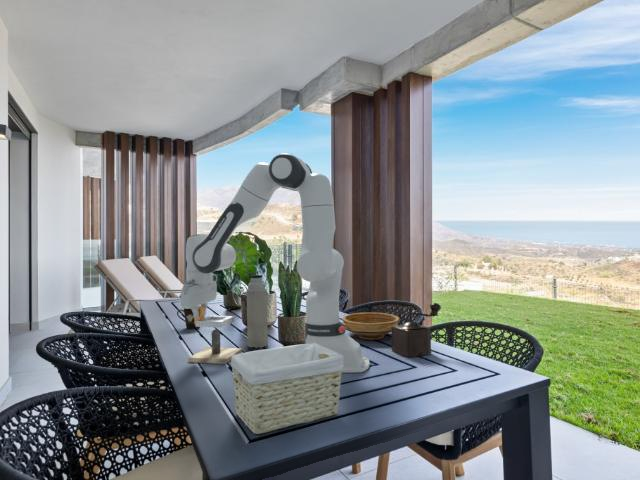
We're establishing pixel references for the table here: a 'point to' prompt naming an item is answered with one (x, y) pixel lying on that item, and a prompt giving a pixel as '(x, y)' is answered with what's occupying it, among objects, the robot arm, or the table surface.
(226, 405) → the table surface
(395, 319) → the ceramic bowl
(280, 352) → the storage basket
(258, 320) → the thermos bottle
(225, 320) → the white holder stand
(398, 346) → the manual coffee grinder
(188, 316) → the coffee mug
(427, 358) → the table surface
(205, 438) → the table surface
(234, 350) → the post
